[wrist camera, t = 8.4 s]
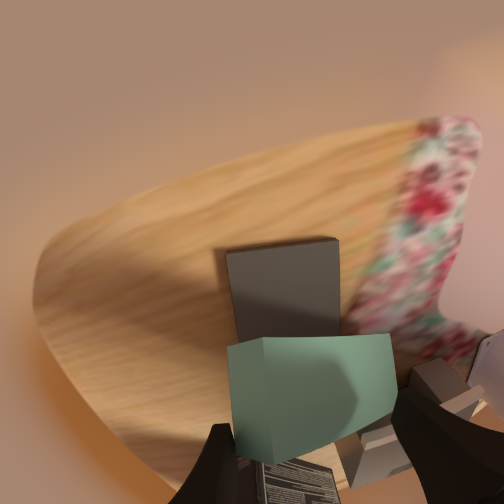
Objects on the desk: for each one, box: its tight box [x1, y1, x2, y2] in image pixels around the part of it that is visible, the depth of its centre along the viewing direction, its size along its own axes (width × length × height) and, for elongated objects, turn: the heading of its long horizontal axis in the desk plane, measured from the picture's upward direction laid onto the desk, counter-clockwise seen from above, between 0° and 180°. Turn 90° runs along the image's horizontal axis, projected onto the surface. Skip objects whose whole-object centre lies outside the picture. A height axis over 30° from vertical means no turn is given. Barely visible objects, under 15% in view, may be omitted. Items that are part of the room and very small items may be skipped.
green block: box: [227, 333, 398, 465], centre depth 12 cm, size 2×10×5 cm
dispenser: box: [334, 357, 485, 489], centre depth 16 cm, size 10×7×6 cm
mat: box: [226, 238, 340, 343], centre depth 16 cm, size 6×12×1 cm, turn 7°
